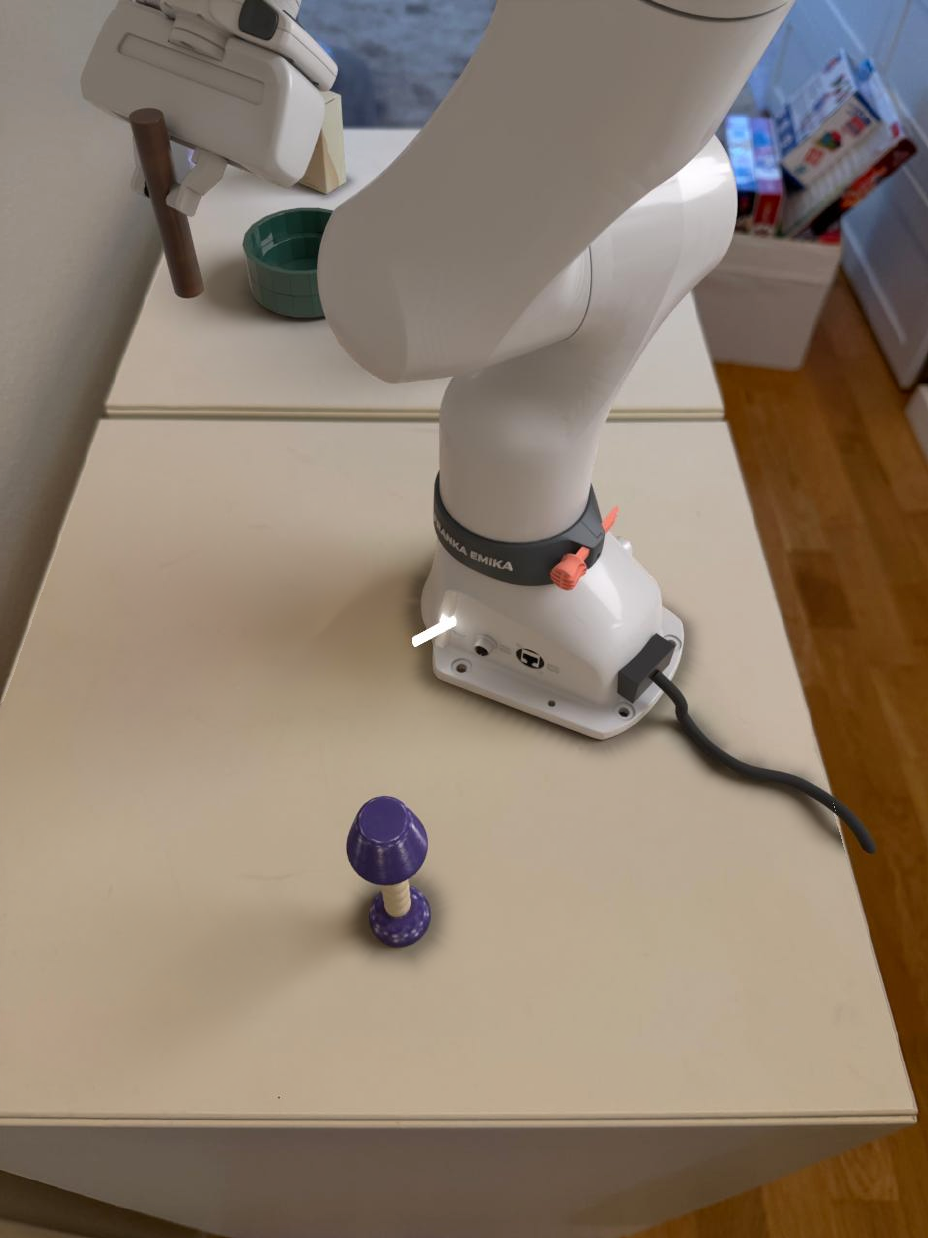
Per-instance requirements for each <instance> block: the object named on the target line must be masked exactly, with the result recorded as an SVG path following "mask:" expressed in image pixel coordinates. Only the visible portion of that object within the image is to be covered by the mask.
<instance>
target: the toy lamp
mask: <svg viewBox="0 0 928 1238" xmlns="http://www.w3.org/2000/svg"><path fill="white" fill-rule="evenodd" d="M428 849H429V838H428V834H427V830H426V829H425V826H424V824H423V823H422V821H421V820H420V819H419V817H418V816H417V815H416V814H415V813H414V812H413V810H411V808H410V807H409V806H407V804H406V803H405V802H403V801H402V800H400V799H398V798H396V797H393V796H391V795H390V796H389V795H381V796H376V797H375V796H374V797H373V798H371V799H369V800H367V801H366V802H365V803H363V805H362V806H361V807H360V808H359V810H358V811H357V813H356V815H355V817H354V819H353V822H352V823H351V826H350V828H349V831H348V834H347V836H346V845H345V850H346V851H345V852H346V856H347V860H348V862H349V864H350V866H351V868H352V870H353V871H354V872H355V874H357V876H359V877H360V878H361V879H363V880H365V881H366V882H368V883H371V884H373V885H377V886H380V891H379V892H378V893H377V894H376V895H375V896H374V898H373V900H372V901H371V904H370V906H369V911H368V924H369V928H370V930H371V932H372V933H373V935H374V936H375V937H376V939H378V940H379V942H381V943H382V944H384V945H386V946H388V947H392V948H406V947H409V946H411V945H414V944H415V943H417V942H419V941H420V940H421V939H422V938H423V937H424V935H425V934H426V933H427V931H428V929H429V926H430V924H431V919H432V912H431V911H432V910H431V906H430V903H429V901H428V899H427V898H426V896H425V894H424V893H423V892H422V891H420V889H418V888H417V887H415V886H413V885H410V883H409V882H410V879H411V878H412V877H413V876H415V875H416V874H417V873H418V871H420V869H421V868H422V866H423V864H424V863H425V861H426V859H427V855H428Z"/></svg>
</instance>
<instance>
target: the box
mask: <svg viewBox="0 0 928 1238" xmlns="http://www.w3.org/2000/svg"><path fill="white" fill-rule="evenodd" d="M320 92H321V94H322V96H323V98H324V102H325V113H324V119H323V123H322V126H321V130H320V133H319V137H318V140H317V143H316V146H315V149H314V151H313V154H312V157H311V160H310V162H309V165H308V167H307V170H306V172H305V174H304V176H303V177H302V178H301V179H300V180H299V181H298V182H297V183H299V184H301V185H303V186H306V187H308V188H310V189H313V190H315V191H317V192H319V193H321V194H325V195H328V194H330V193H331V192H333V191H334V190H336V189H338V188H339V187H341V186H342V185H344V184H345V183H347V169H346V155H345V140H344V137H345V136H344V124H343V123H344V122H343V121H344V120H343V109H342V105H343V104H342V95H341V94H339V93H336V92H334V91H332V90H328V91H325V92H322V91H320Z"/></svg>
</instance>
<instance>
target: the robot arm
mask: <svg viewBox="0 0 928 1238" xmlns="http://www.w3.org/2000/svg"><path fill="white" fill-rule="evenodd" d="M796 1H797V0H497V1H496V3H495V7H494V10H493V13H492V15H491V18H490V20H489V23H488V25H487V27H486V29H485V30H484V34H483V36H482V38H481V40H480V42H479V43H478V45H477V47H476V48H475V50H474V52H473V54H472V56H471V57H470V59H469V61H468V63H467V64H466V66H465V67H464V69H463V71H462V72H461V73H460V75H459V76H458V78H457V79H456V81H455V82H454V84H453V85H452V87H451V88H450V90H449V91H448V92H447V94H446V95H445V97H444V98H443V99H442V101H441V102H440V104H439V105H438V106H437V108H436V109H435V110H434V112H433V114H432V115H430V117H429V118H428V120H427V121H426V122H425V124H424V125H423V126H422V128H421V129H420V130H419V132H418V133H417V134H416V135H415V136H414V138H413V139H412V140H411V141H410V142H409V144H408V145H406V147H405V148H404V150H402V151H401V153H399V155H397V157H396V158H394V160H393V161H392V162H391V163H390V164H388V166H387V167H386V168H385V169H383V171H381V172H380V173H379V174H378V175H376V177H374V179H372V180H371V181H370V182H369V183H367V184H366V185H365V186H364V187H363V188H361V189H360V190H358V191H357V192H356V193H355V194H353V195H351V197H349V198H348V199H346V200H345V201H343V202H342V203H341V204H339V205H338V206H337V207H335V208H334V209H333V210H334V211H333V212H332V214H331V216H330V218H329V221H328V223H327V225H326V227H325V230H324V233H323V236H322V240H321V244H320V249H319V254H318V265H317V280H318V291H319V297H320V301H321V305H322V308H323V312H324V314H325V316H324V318H325V320H326V322H327V324H328V327H329V328H330V330H331V332H332V334H333V335H334V337H335V339H336V340H337V343H339V345H340V346H341V348H342V349H343V350H344V352H346V353H347V355H348V356H349V357H350V358H351V359H352V360H353V361H354V362H355V363H356V364H357V365H359V366H360V367H361V368H362V369H363V370H364V371H366V372H367V373H369V374H370V375H372V376H373V377H375V378H377V379H379V380H381V381H383V382H385V383H387V384H391V385H393V384H397V385H398V384H404V383H414V382H423V381H433V380H438V379H439V380H440V379H446V378H451V379H450V381H449V383H448V384H447V387H446V388H445V390H444V392H443V393H444V394H443V396H442V399H441V402H440V408H439V413H438V414H439V415H438V417H439V418H438V442H439V443H438V455H439V456H438V457H439V460H438V463H439V469H438V471H437V473H436V476H435V478H434V484H433V511H432V512H433V515H432V516H433V527H434V531H435V535H436V543H435V544H436V545H435V550H434V557H433V562H432V565H431V568H430V572H429V575H428V577H427V578H426V580H425V582H424V585H423V589H422V591H421V597H420V613H421V618H422V621H423V624H424V627H425V629H426V630H425V631H423V632H421V633H419V634H417V635H414V636H413V637H412V645H413V646H414V647H417V646H419V645H421V644H423V643H425V642H427V641H429V640H431V644H432V659H431V661H432V662H431V663H432V664H431V665H432V670H433V674H434V675H435V677H436V678H437V679H439V680H441V681H443V682H444V683H445V682H446V683H447V684H450V685H452V686H456V687H458V688H460V689H464V690H466V691H469V692H471V693H473V694H477V695H479V696H481V697H484V698H487V699H490V700H493V701H495V702H497V703H500V704H502V705H505V706H508V707H510V708H514V709H516V710H518V711H522V712H523V713H526V714H528V715H531V716H534V717H537V718H540V719H542V720H544V721H547V722H550V723H553V724H555V725H558V726H561V727H563V728H566V729H569V730H572V731H573V732H576V733H579V734H582V735H584V736H587V737H590V738H593V739H596V740H602V741H603V740H607V739H610V738H613V737H616V736H618V735H621V734H622V733H624V732H626V731H627V730H629V729H631V728H632V727H634V725H637V723H639V722H640V721H642V719H643V718H644V717H645V716H647V714H648V713H649V712H650V711H651V710H652V709H653V708H654V706H655V705H656V704H657V703H658V701H659V700H660V699H661V697H662V696H663V694H665V695H666V696H667V697H668V698H669V699H670V700H671V702H672V703H673V705H674V707H675V708H674V709H675V710H674V713H675V716H676V719H677V721H678V723H679V724H680V725H681V727H682V728H683V730H684V731H685V732H686V734H687V735H688V736H689V738H690V739H691V740H692V741H693V742H694V743H695V744H696V745H697V746H698V748H700V749H701V751H703V752H704V753H706V754H707V755H708V756H709V757H710V758H712V759H713V760H714V761H716V762H718V763H719V764H721V765H722V766H724V767H725V768H727V769H728V770H730V771H733V772H734V773H736V774H738V775H741V776H743V777H746V778H749V779H753V780H756V781H757V780H758V781H761V782H767V783H773V784H778V785H783V786H787V787H789V788H792V789H795V790H797V791H799V792H801V793H803V794H805V795H806V796H808V797H810V798H811V799H813V800H815V801H816V802H818V803H819V804H821V805H823V806H824V807H825V808H827V809H828V810H829V811H831V812H832V813H833V814H835V816H837V817H838V818H839V819H840V820H841V821H842V822H843V823H844V824H845V825H846V826H847V827H848V829H849V830H850V831H851V833H853V836H854V837H855V838H856V839H857V841H858V843H859V846H860V847H861V849H862V850H863V851H864V852H865V853H867V854H870V855H873V854H876V853H877V846H876V843H875V841H874V839H873V838H872V835H871V833H870V832H869V831H868V829H867V828H866V826H865V825H864V824H863V822H862V821H861V820H860V818H859V817H858V816H856V814H855V813H854V812H853V810H851V809H849V807H848V806H846V805H845V804H844V803H843V802H841V800H839V799H837V798H836V797H835V796H833V794H830V793H829V792H827V791H825V790H824V789H822V788H821V787H819V786H817V785H815V784H814V783H812V782H810V781H809V780H806V779H804V778H802V777H801V776H800V777H799V776H798V775H795V774H792V773H788V772H784V771H781V770H780V771H779V770H774V769H770V768H763V767H759V766H755V765H751V764H749V763H746V762H743V761H741V760H740V759H738V758H735V757H734V756H732V755H731V754H729V753H728V752H726V751H724V750H723V749H721V748H720V747H719V746H718V745H716V743H713V741H712V740H710V739H709V738H708V737H707V736H706V735H705V734H704V733H703V732H702V730H700V728H699V727H698V725H697V724H696V722H695V721H694V720H693V719H692V717H691V716H690V714H689V704H688V702H687V699H686V697H685V696H684V694H683V693H682V691H681V690H680V689H679V688H678V687H677V685H676V684H674V682H672V681H673V678H674V676H675V674H676V672H677V670H678V667H679V665H680V661H681V659H682V655H683V654H682V653H683V648H684V642H685V633H684V625H683V621H682V620H681V619H680V618H679V617H678V616H677V615H676V614H675V613H673V612H672V611H671V610H669V609H668V608H666V607H665V606H664V605H663V596H662V593H661V588H660V586H659V584H658V582H657V581H656V579H655V578H654V577H653V576H652V575H651V574H650V572H648V571H647V570H646V568H644V567H643V566H642V564H641V563H640V562H639V561H638V560H637V559H636V558H635V557H634V548H633V545H632V544H631V542H630V541H629V540H628V539H626V538H625V537H623V536H620V535H619V536H614V534H613V533H612V532H611V531H610V530H611V528H613V526H614V524H615V522H616V519H617V516H618V510H619V508H620V507H619V506H618V505H615V506H614V507H613V508H612V510H611V511H610V512H609V513H608V515H607V516H605V518H604V520H603V517H602V513H601V510H600V507H599V502H598V500H597V496H596V492H595V490H594V489H595V488H594V487H593V483H592V480H593V474H594V469H595V465H596V460H597V456H598V451H599V447H600V443H601V438H602V436H603V431H604V428H605V425H606V422H607V419H608V417H609V414H610V412H611V410H612V407H613V405H614V403H615V401H616V400H617V397H618V395H619V394H620V393H621V391H622V389H623V386H624V385H625V383H626V381H627V379H628V378H629V377H630V374H631V373H632V371H633V369H634V368H635V366H636V365H637V363H638V362H639V360H640V358H641V357H642V355H643V353H644V351H645V350H646V348H647V347H648V345H649V344H650V342H651V341H652V339H653V338H654V337H655V335H656V334H657V332H658V331H659V329H660V328H661V326H662V325H663V324H664V322H665V321H666V319H667V318H668V317H669V316H670V315H671V313H672V312H673V311H674V309H675V308H676V307H677V306H678V305H679V304H680V303H681V302H682V300H684V298H686V296H687V295H688V294H689V293H690V292H691V291H692V290H693V289H694V288H695V287H696V286H697V285H698V284H699V283H700V282H701V281H702V280H703V279H704V278H705V277H707V276H708V275H709V274H710V273H711V272H712V271H713V270H715V268H717V266H718V265H719V264H720V263H721V261H722V260H723V259H724V257H725V255H726V254H727V252H728V250H729V248H730V245H731V243H732V239H733V237H734V233H735V228H736V224H737V217H738V206H739V205H738V188H737V181H736V177H735V172H734V169H733V165H732V162H731V160H730V158H729V155H728V153H727V150H726V149H725V147H724V146H723V144H722V142H721V141H720V139H719V138H718V137H717V135H716V132H717V131H718V130H719V127H720V126H721V125H722V123H723V121H724V120H725V118H726V116H727V115H728V114H729V111H730V109H731V108H732V107H733V104H734V103H735V101H736V99H737V98H738V96H739V95H740V94H741V91H742V89H743V88H744V86H745V85H746V84H747V82H748V80H749V78H750V76H751V75H752V74H753V72H754V70H755V68H756V66H757V65H758V63H759V62H760V60H761V59H762V57H763V55H764V53H765V52H766V50H767V48H769V45H770V44H771V42H772V40H773V39H774V37H775V35H776V33H777V32H778V30H779V29H780V27H781V26H782V24H783V22H784V20H785V18H786V17H787V16H788V14H789V12H790V11H791V9H792V7H793V5H794V4H795V2H796ZM301 5H302V0H118V1H117V3H116V5H115V6H114V7H115V8H113V10H112V11H111V12H110V13H109V14H108V15H107V17H106V19H105V21H104V22H103V24H102V26H101V29H100V30H99V32H98V34H97V36H96V39H95V41H94V43H93V46H92V47H91V50H90V52H89V54H88V57H87V60H86V62H85V65H84V67H83V70H82V73H81V75H80V80H79V81H80V90H81V95H82V98H83V99H84V100H85V101H86V102H88V103H89V104H91V105H92V106H94V107H95V108H97V109H98V110H100V111H102V112H104V113H105V114H107V115H108V116H111V117H112V118H115V119H117V120H120V121H122V122H125V123H127V124H129V125H130V121H129V115H130V114H131V113H132V112H134V111H136V110H138V109H143V108H154V109H158V110H160V111H162V113H163V115H164V119H165V123H166V128H167V132H168V136H169V141H170V142H173V143H175V144H178V145H181V146H183V147H185V148H187V149H190V150H193V152H192V156H191V159H190V162H191V163H193V164H194V166H193V168H192V169H191V170H190V171H189V172H188V173H187V175H185V177H184V178H183V179H182V180H181V182H179V183H180V184H179V183H177V182H174V181H172V184H171V186H170V189H169V192H170V193H169V194H168V195H167V197H166V204H167V205H168V206H169V207H171V208H173V209H175V210H176V211H179V212H181V213H183V214H185V215H187V217H190V218H192V217H194V216H195V215H196V214H197V210H198V208H199V204H200V201H201V199H202V197H204V196H205V195H206V194H207V193H208V192H209V191H211V189H213V188H214V187H215V186H216V185H217V184H218V183H219V182H220V181H221V180H223V177H224V174H225V171H226V169H227V166H228V165H229V166H231V167H233V168H236V169H239V170H241V171H243V172H246V173H248V174H250V175H253V176H256V177H258V178H259V179H263V180H266V181H268V182H270V183H272V184H275V185H278V186H279V187H282V188H285V189H289V188H291V187H293V186H294V185H296V183H299V182H298V181H299V180H300V179H301V178H302V177H303V176H304V174H305V172H306V170H307V167H308V165H309V162H310V160H311V157H312V154H313V151H314V149H315V146H316V143H317V140H318V137H319V133H320V130H321V126H322V123H323V119H324V113H325V102H324V98H323V96H322V94H321V92H320V91H322V92H325V91H328V90H329V91H331V89H332V87H333V86H334V84H335V81H336V78H337V76H338V72H339V68H338V65H337V63H336V62H335V61H334V60H333V59H332V57H331V56H330V55H329V54H328V52H326V50H325V49H324V48H323V47H322V46H321V44H319V43H318V42H317V41H316V40H315V39H314V38H313V37H312V35H310V33H308V32H307V31H306V28H304V27H303V26H302V24H301V23H299V21H298V20H297V16H298V14H299V11H300V8H301ZM132 146H133V155H134V164H135V169H134V171H133V174H132V176H131V180H130V184H129V188H130V189H131V191H133V192H134V193H137V194H138V195H141V196H142V197H145V198H147V199H149V200H150V197H149V193H148V189H147V185H146V182H145V178H144V174H143V170H142V166H141V163H140V159H139V155H138V151H137V148H136V144H135V140H134V136H133V135H132ZM459 670H464V671H463V672H460V671H459ZM620 713H624V714H626V715H627V716H623V715H621V714H620ZM833 803H834V804H833ZM834 806H835V808H834ZM835 810H836V811H835Z"/></svg>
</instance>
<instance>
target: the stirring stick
mask: <svg viewBox="0 0 928 1238" xmlns="http://www.w3.org/2000/svg"><path fill="white" fill-rule="evenodd" d="M129 121H130V124H129V125H130V128H131V132H132V137H133V136H134V140H135V144H136V148H137V151H138V155H139V159H140V163H141V166H142V170H143V174H144V178H145V182H146V185H147V189H148V193H149V197H150V199H149V200H150V204H151V208H152V211H153V216H154V219H155V223H156V227H157V230H158V235H159V238H160V242H161V246H162V249H163V253H164V257H165V261H166V265H167V269H168V273H169V276H170V279H171V283H172V288H173V291H174V294H175V295H176V296H177V297H178V298H181V299H194V298H196V297H199V296H200V295H202V294H203V292H204V291H205V286H204V282H203V278H202V273H201V270H200V265H199V261H198V256H197V252H196V247H195V244H194V239H193V236H192V235H193V234H192V231H191V230H192V229H191V226H190V222H189V218H188V217H189V216H187V215H185V214H183V213H181V212H179V211H176V210H175V209H173V208H171V207H169V206H168V205H167V204H166V197H167V195H168V194H169V193H170V192H169V189H170V186H171V184H172V181H174V182H177V183H179V184H180V183H181V182H180V180H179V175H178V171H177V166H176V163H175V158H174V154H173V150H172V145H171V141H170V140H169V136H168V132H167V128H166V123H165V119H164V115H163V113H162V111H160V110H158V109H154V108H143V109H138V110H136V111H134V112H132V113H131V114H130V115H129Z"/></svg>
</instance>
